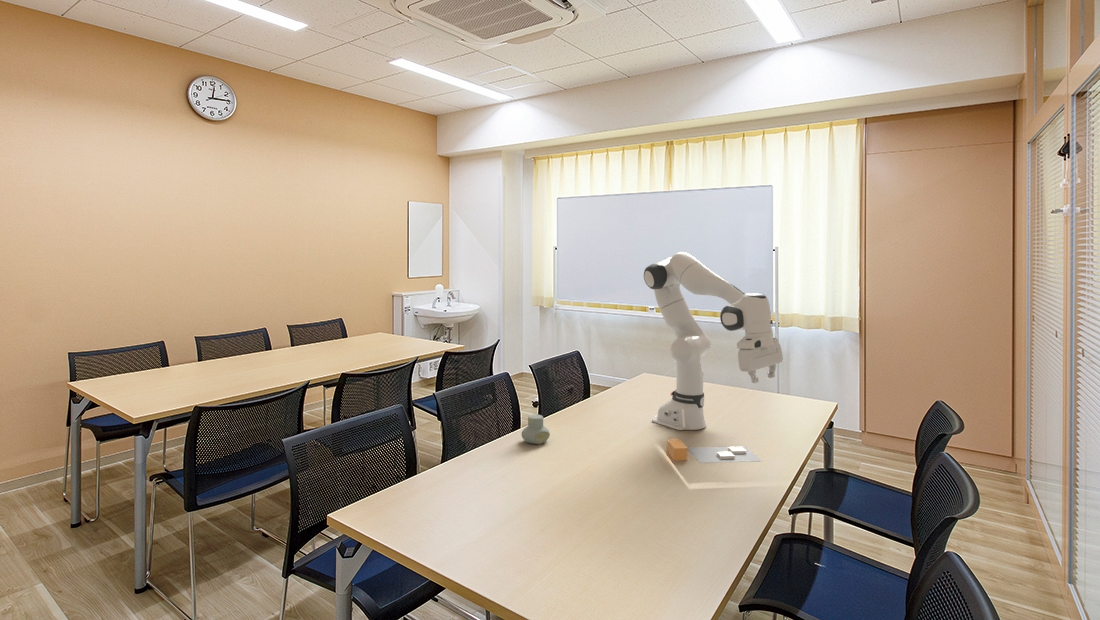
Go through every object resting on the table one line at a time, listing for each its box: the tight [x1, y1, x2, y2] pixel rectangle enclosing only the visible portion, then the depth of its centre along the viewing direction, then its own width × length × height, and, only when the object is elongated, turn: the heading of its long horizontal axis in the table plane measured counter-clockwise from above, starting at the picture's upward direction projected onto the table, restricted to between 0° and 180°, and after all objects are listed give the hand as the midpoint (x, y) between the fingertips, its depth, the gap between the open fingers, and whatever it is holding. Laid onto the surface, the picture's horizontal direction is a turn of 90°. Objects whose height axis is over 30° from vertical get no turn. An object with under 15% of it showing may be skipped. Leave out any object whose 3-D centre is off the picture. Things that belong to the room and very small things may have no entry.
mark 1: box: [717, 452, 735, 459], centre depth 192 cm, size 5×4×1 cm
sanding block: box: [666, 438, 688, 466], centre depth 193 cm, size 9×4×6 cm, turn 4°
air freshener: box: [521, 414, 551, 445], centre depth 210 cm, size 11×8×10 cm
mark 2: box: [727, 446, 746, 454], centre depth 197 cm, size 5×4×1 cm
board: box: [687, 445, 762, 464], centre depth 194 cm, size 22×14×2 cm, turn 94°
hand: (763, 380), depth 187 cm, fingers open, 8 cm apart
